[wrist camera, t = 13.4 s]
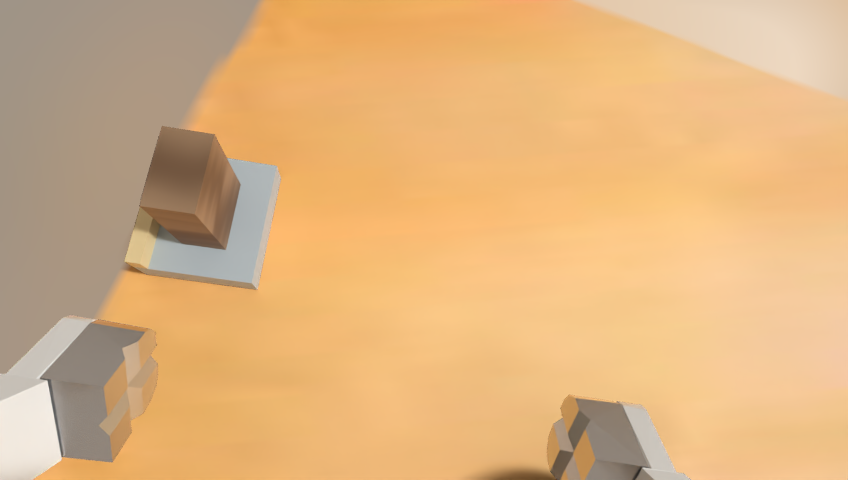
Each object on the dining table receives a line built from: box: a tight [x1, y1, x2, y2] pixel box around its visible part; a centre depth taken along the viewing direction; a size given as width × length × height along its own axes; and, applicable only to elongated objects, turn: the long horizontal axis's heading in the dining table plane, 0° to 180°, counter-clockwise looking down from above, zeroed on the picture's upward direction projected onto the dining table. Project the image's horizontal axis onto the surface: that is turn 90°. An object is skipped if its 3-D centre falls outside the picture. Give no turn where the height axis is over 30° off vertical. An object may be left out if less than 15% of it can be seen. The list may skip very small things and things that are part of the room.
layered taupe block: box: [140, 126, 241, 250], centre depth 34 cm, size 5×3×8 cm, turn 174°
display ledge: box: [124, 158, 281, 290], centre depth 38 cm, size 9×8×4 cm
